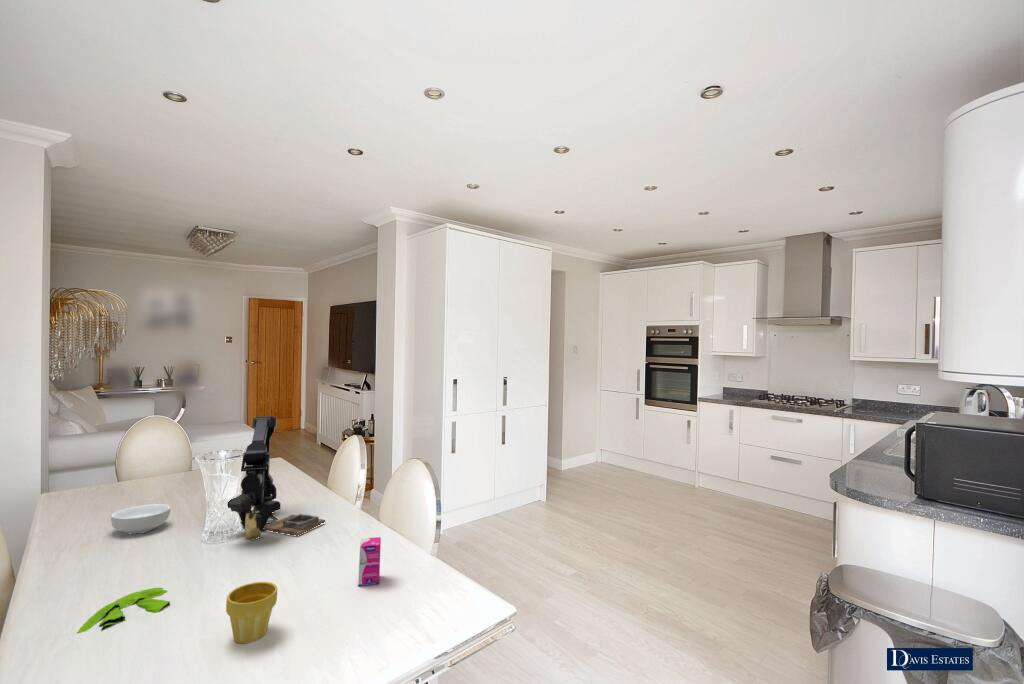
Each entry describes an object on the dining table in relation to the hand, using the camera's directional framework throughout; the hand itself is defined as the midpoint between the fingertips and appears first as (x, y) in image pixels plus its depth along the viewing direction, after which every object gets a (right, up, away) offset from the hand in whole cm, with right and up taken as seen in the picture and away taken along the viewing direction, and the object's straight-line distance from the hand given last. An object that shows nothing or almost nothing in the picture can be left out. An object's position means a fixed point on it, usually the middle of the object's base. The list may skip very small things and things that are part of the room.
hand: (253, 529), depth 162 cm
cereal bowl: (-44, -3, +5) cm, 44 cm away
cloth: (-4, -2, -47) cm, 47 cm away
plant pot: (+31, -2, -56) cm, 64 cm away
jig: (+10, -4, +10) cm, 15 cm away
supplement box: (+50, -3, -30) cm, 58 cm away
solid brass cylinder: (0, -3, 0) cm, 3 cm away
